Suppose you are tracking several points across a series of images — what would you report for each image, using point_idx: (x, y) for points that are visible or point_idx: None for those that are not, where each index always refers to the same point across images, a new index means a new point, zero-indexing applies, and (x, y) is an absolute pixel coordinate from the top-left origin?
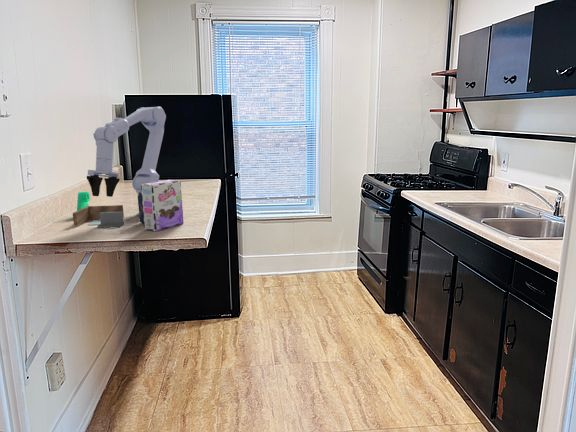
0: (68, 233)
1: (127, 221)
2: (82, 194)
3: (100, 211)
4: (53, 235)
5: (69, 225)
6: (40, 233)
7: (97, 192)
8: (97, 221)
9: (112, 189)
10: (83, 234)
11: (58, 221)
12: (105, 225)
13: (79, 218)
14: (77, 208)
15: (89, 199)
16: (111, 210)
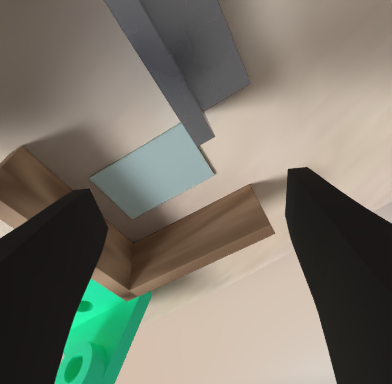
0: (357, 120)
1: (46, 48)
2: (98, 382)
3: None
4: (387, 146)
5: None
6: None
7: (330, 186)
8: (150, 189)
9: (40, 240)
10: (381, 26)
11: (201, 289)
12: (221, 52)
13: (230, 216)
14: (141, 315)
15: (66, 356)
16: None
